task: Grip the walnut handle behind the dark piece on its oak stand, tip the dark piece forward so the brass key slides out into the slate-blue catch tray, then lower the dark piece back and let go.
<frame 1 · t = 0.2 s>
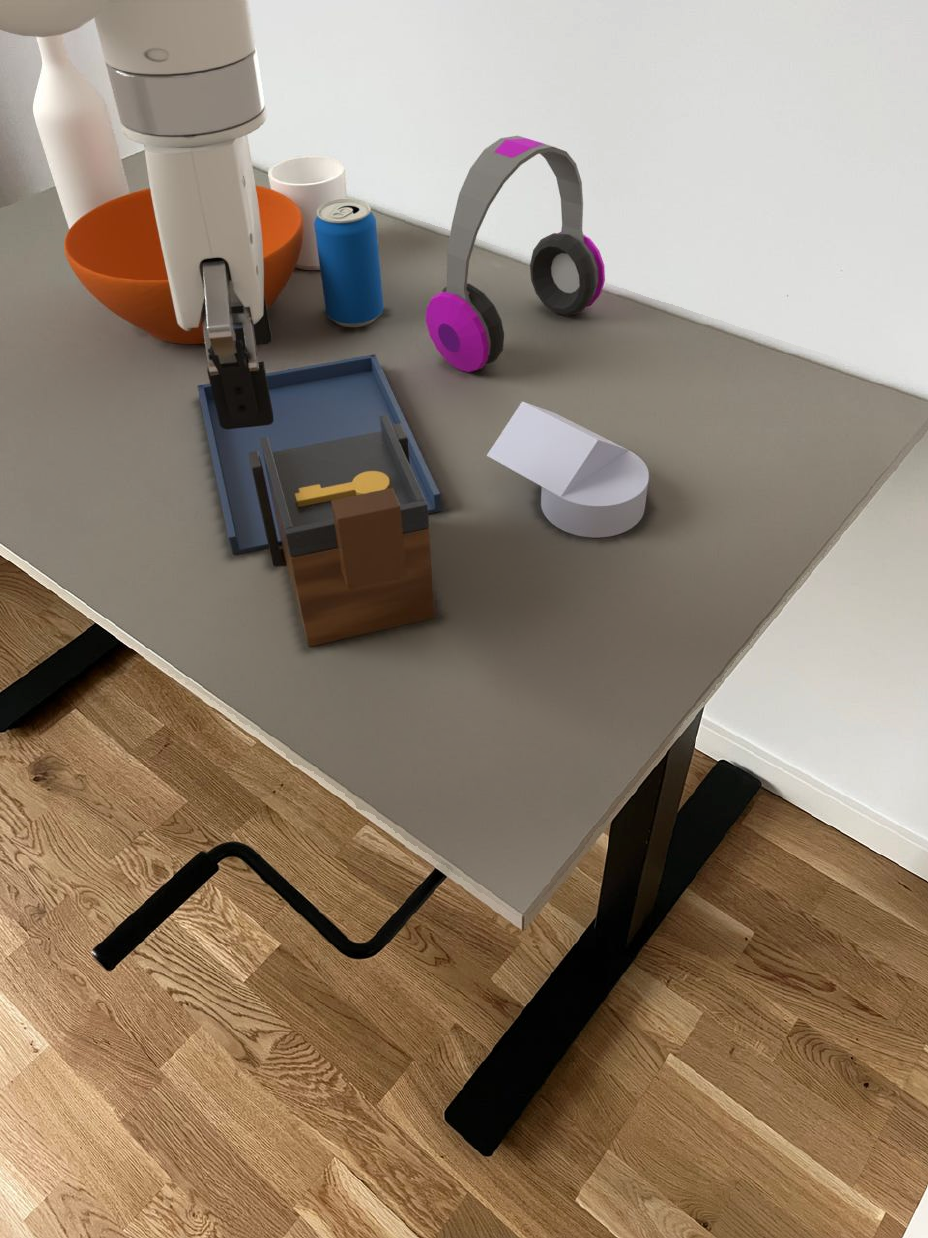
hand: (248, 381, 63), 21 cm above the table, tool pointing down, fingers open, 9 cm apart
catch tray: (313, 454, 92), on the table
dark piece: (345, 476, 69), point 13 cm above the table, hinge at 0.0°, touching key
beverage can: (355, 317, 111), on the table
key: (345, 493, 72), point 10 cm above the table, touching dark piece
bottle: (113, 258, 123), on the table
mug: (322, 253, 123), on the table
wedge on round base: (575, 496, 87), on the table
bowl: (204, 314, 112), on the table
headphones: (517, 338, 107), on the table
stand: (355, 581, 80), on the table
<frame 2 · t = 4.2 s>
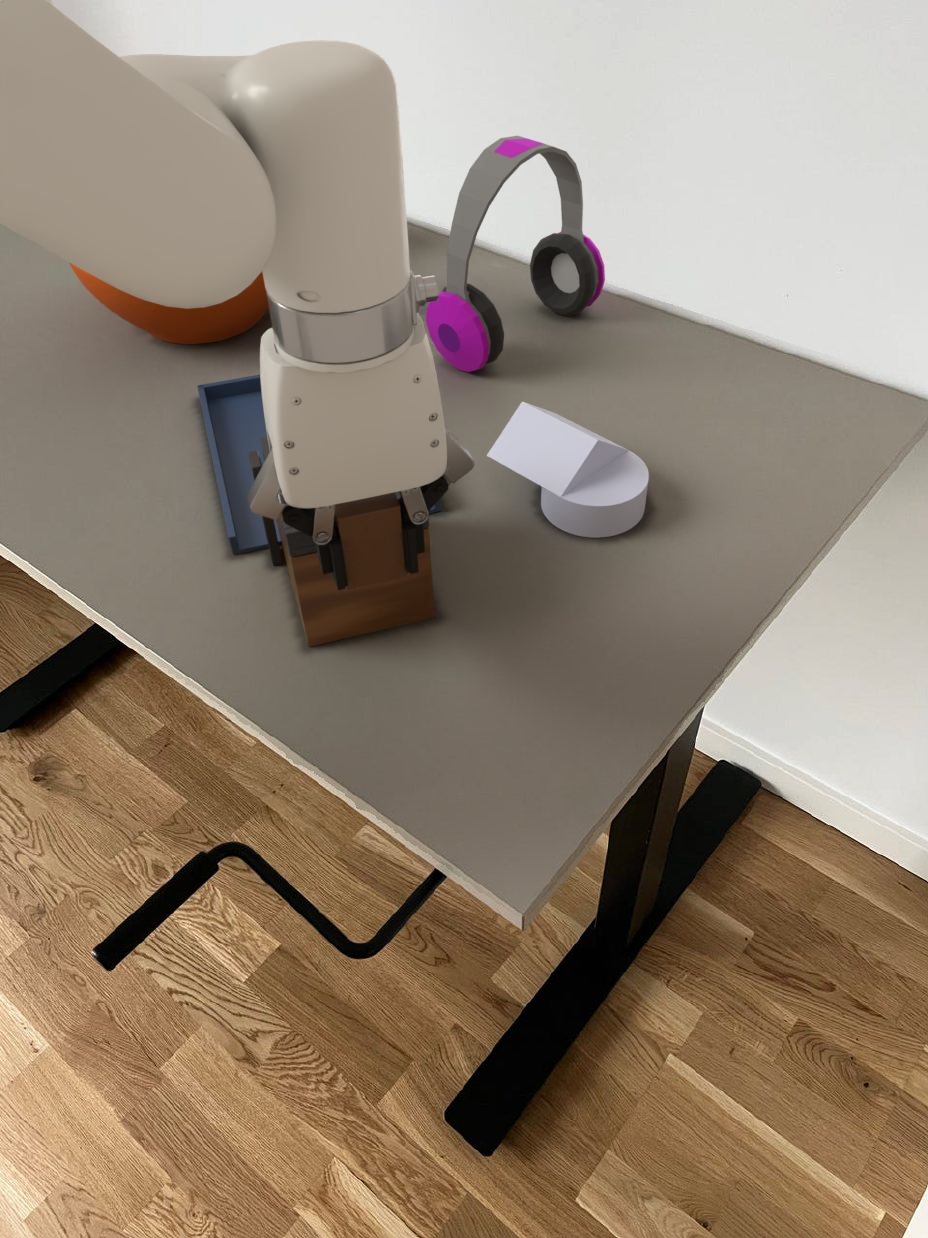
hand: (373, 566, 65), 11 cm above the table, tool pointing down, fingers closed on dark piece, 4 cm apart
dark piece: (345, 476, 69), point 13 cm above the table, hinge at 0.0°, touching gripper, key
everything else where it was.
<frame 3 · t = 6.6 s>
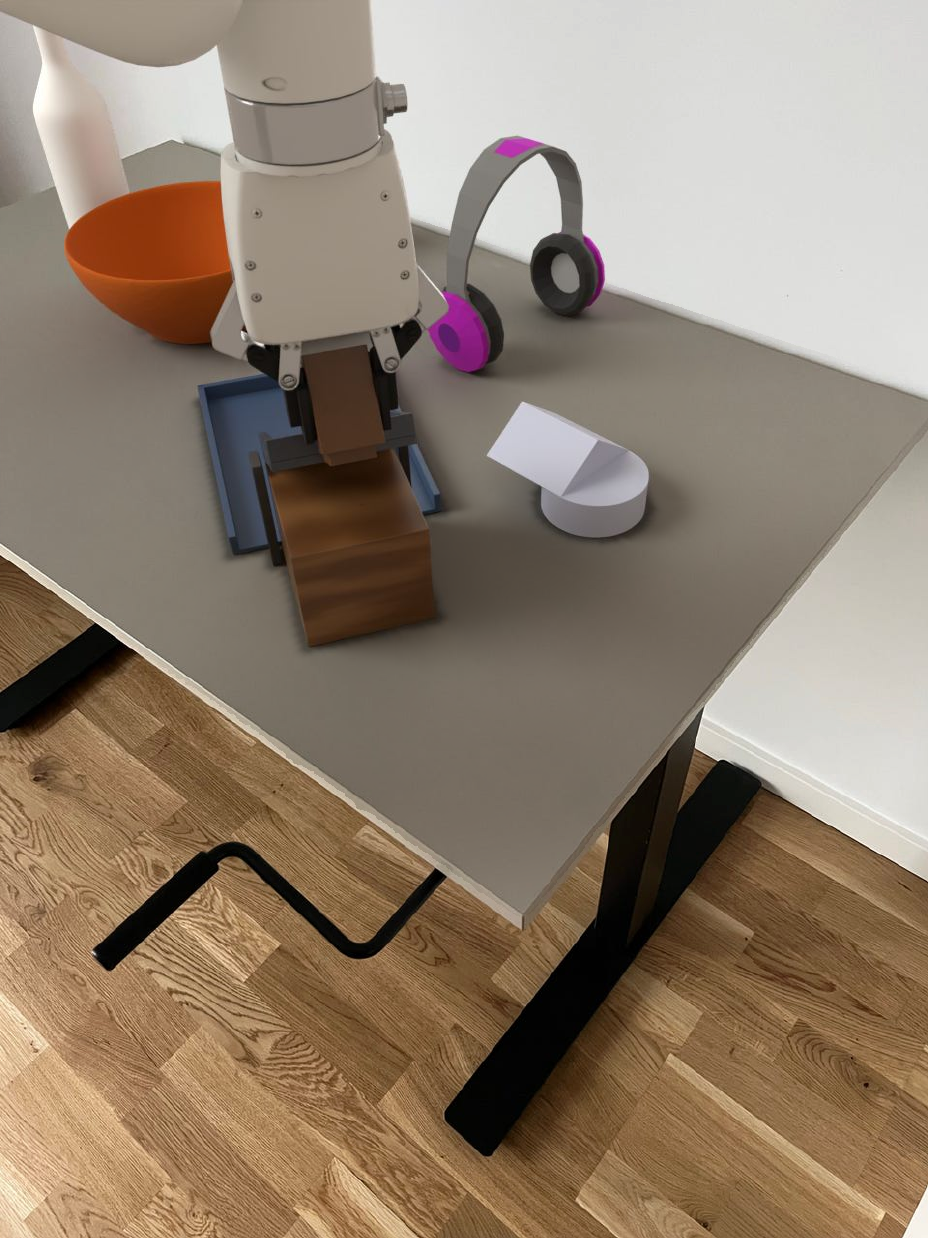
hand: (344, 423, 63), 19 cm above the table, tool pointing down, fingers closed on dark piece, 4 cm apart
dark piece: (330, 405, 68), point 17 cm above the table, hinge at 30.6°, touching gripper, key
key: (335, 444, 71), point 13 cm above the table, tilted 31°, touching dark piece
everything else where it was.
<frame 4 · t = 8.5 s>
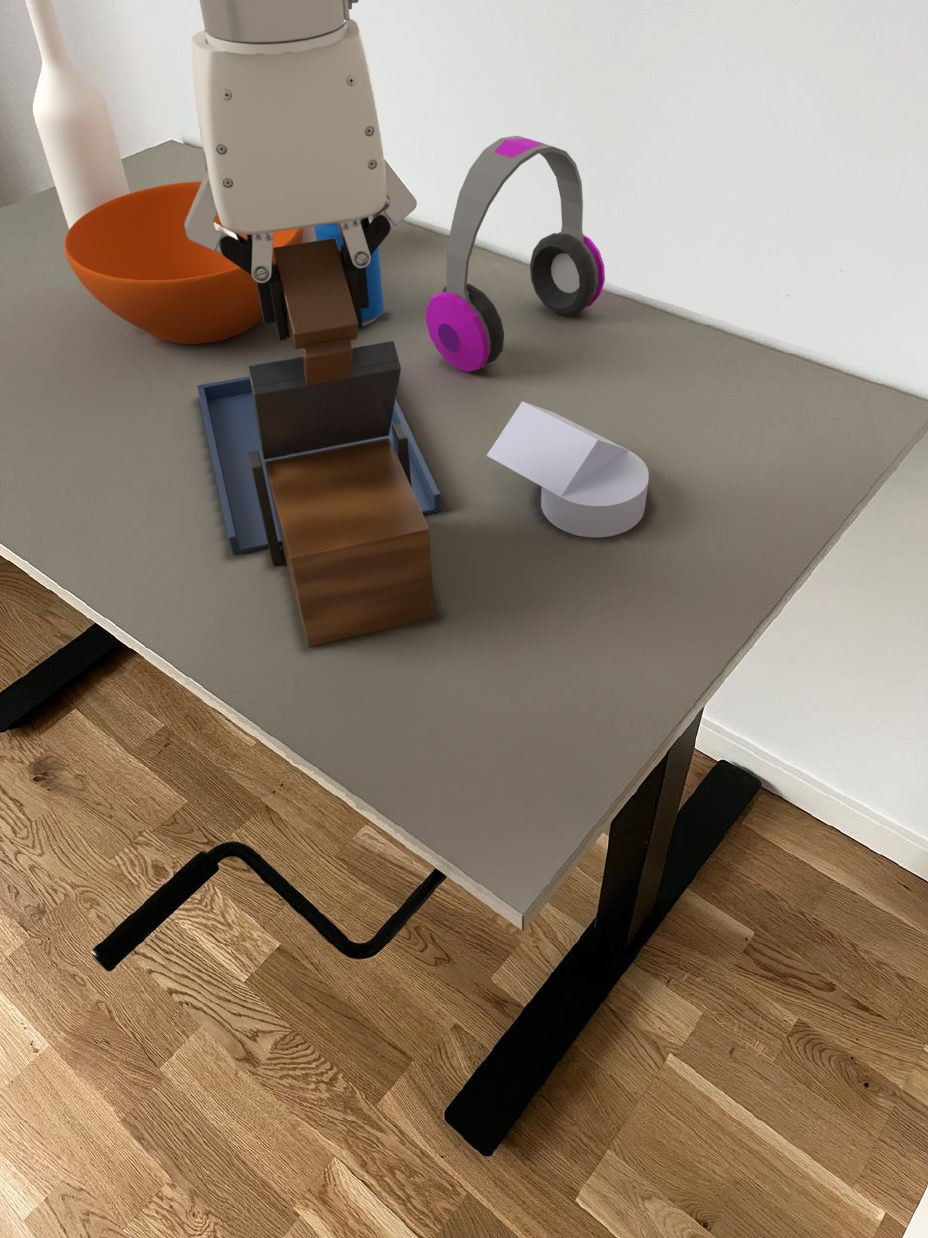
hand: (317, 321, 64), 23 cm above the table, tool pointing down, fingers closed on dark piece, 4 cm apart
dark piece: (317, 356, 69), point 18 cm above the table, hinge at 55.5°, touching gripper
key: (324, 492, 87), point 1 cm above the table, tilted 180°, touching catch tray
everything else where it was.
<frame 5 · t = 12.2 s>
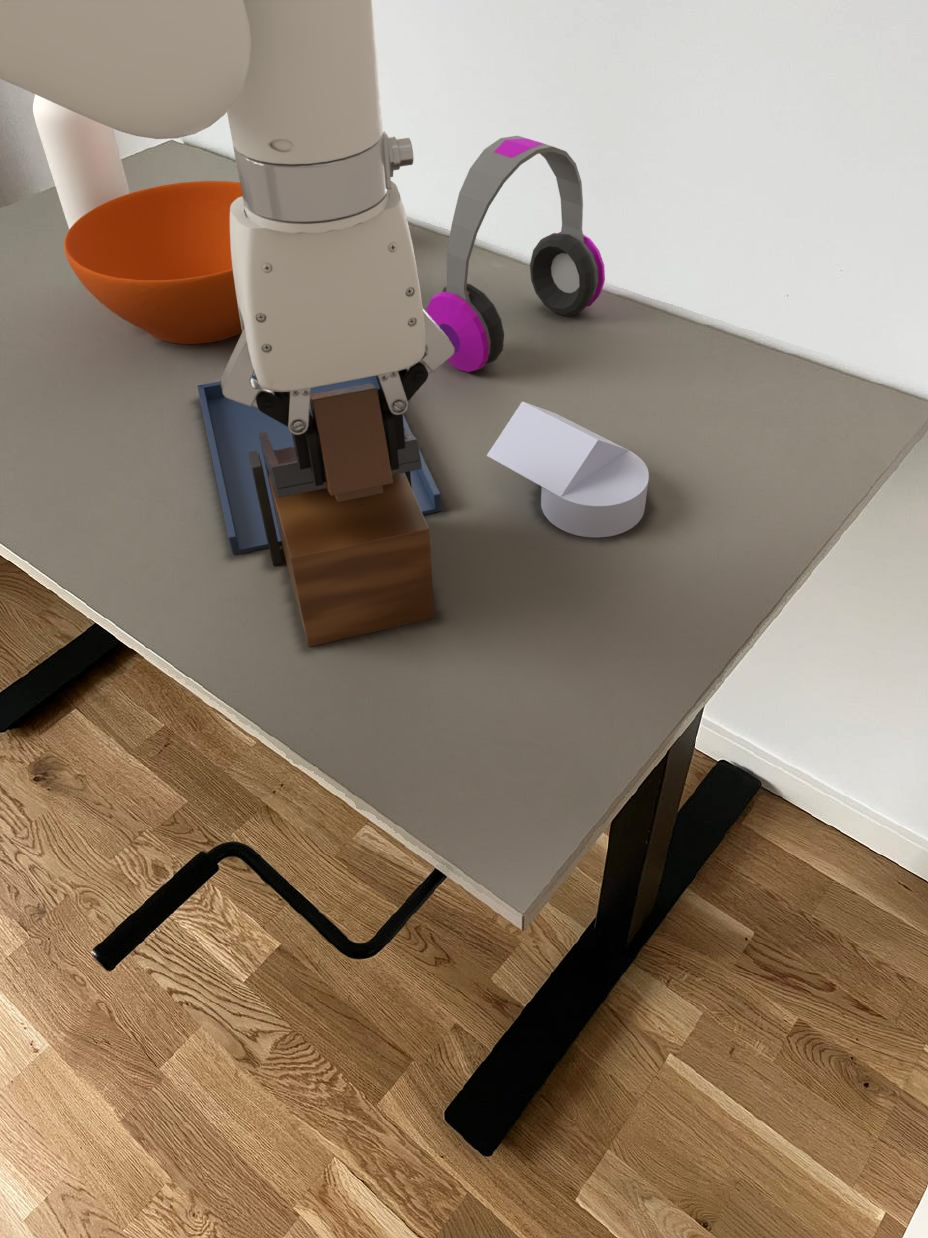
hand: (352, 463, 63), 17 cm above the table, tool pointing down, fingers closed on dark piece, 4 cm apart
dark piece: (334, 424, 68), point 16 cm above the table, hinge at 22.2°, touching gripper
everything else where it was.
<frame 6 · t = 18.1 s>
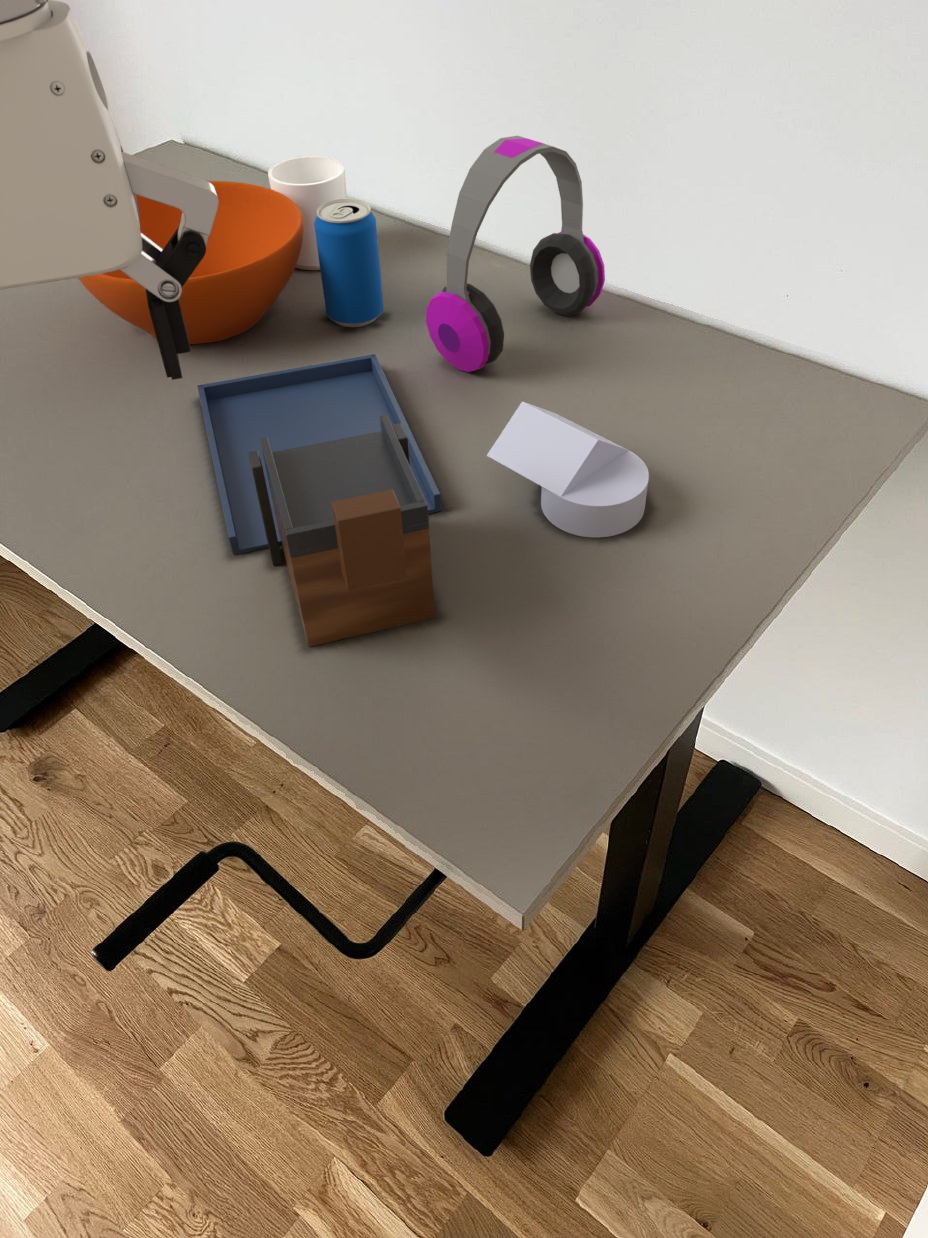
hand: (75, 382, 49), 28 cm above the table, tool pointing down, fingers open, 9 cm apart
dark piece: (345, 476, 69), point 12 cm above the table, hinge at -0.4°
everything else where it was.
at the end: dark piece reached +57° during the clip, +0° at the end; key inside the target area on the catch tray (7.4 cm from its centre), point 1.0 cm above the catch tray's base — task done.
